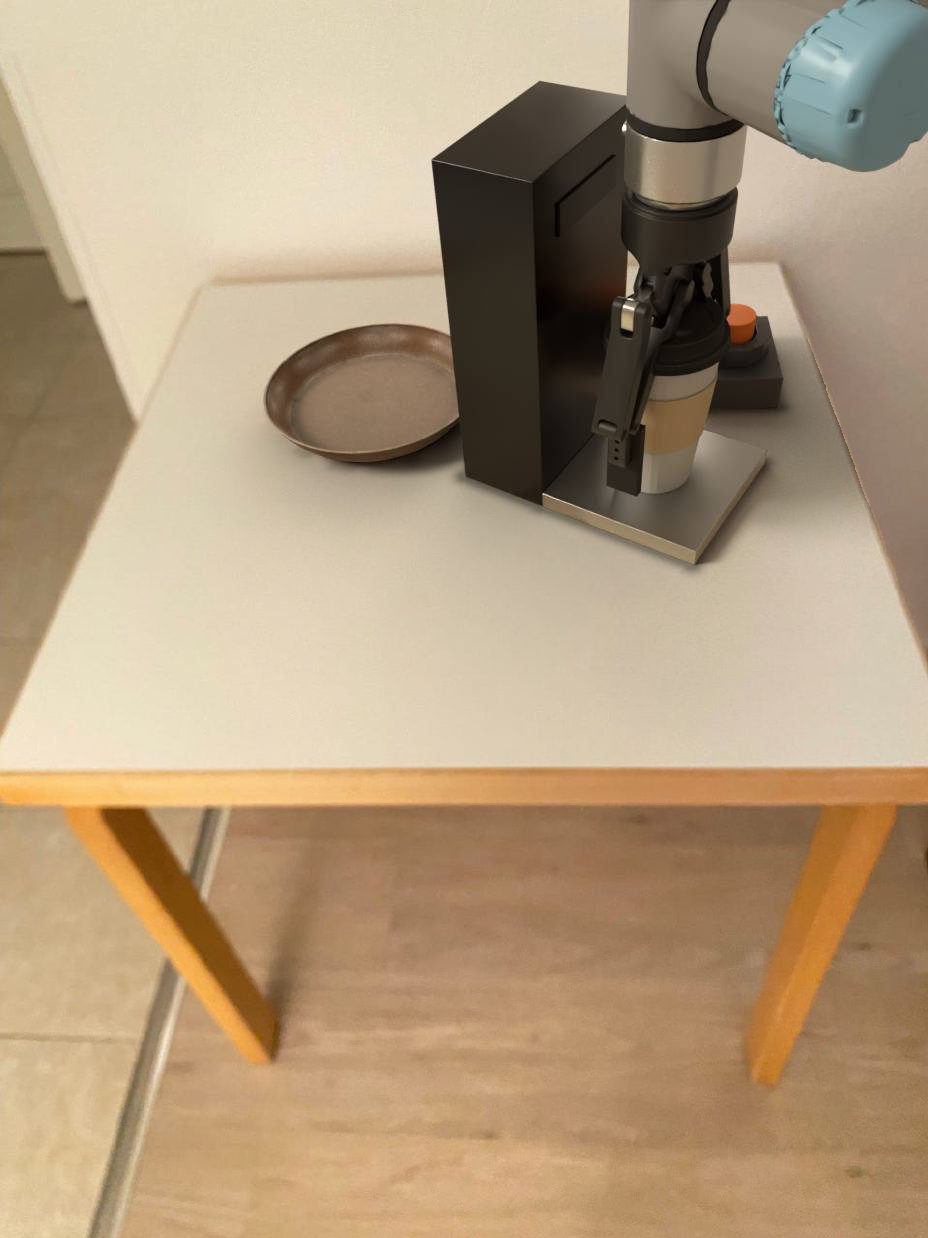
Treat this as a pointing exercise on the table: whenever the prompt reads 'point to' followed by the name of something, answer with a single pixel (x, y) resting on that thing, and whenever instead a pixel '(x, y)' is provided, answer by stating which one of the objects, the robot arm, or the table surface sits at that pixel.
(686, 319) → the coffee cup
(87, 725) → the table surface
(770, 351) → the control block
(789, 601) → the table surface
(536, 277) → the coffee maker
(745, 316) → the button
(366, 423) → the plant saucer
